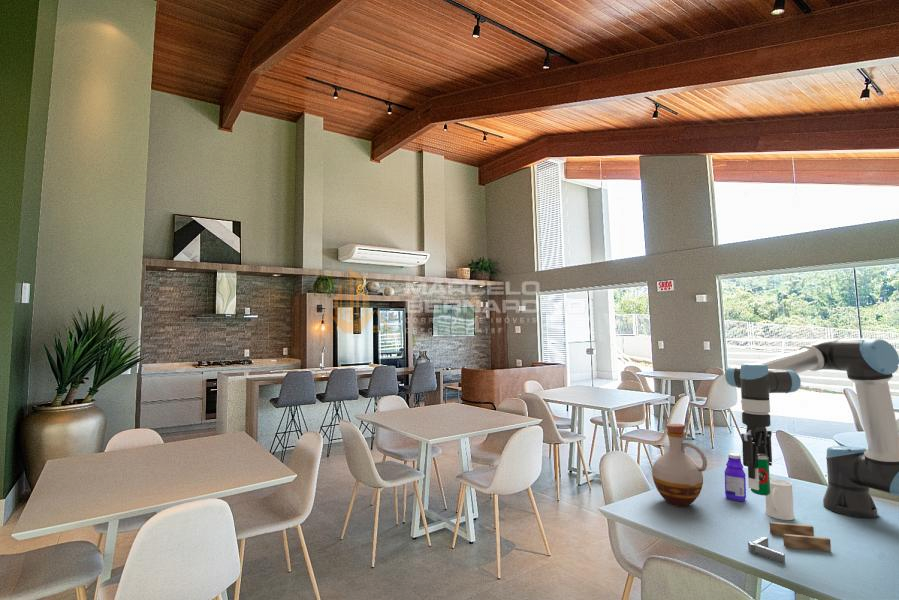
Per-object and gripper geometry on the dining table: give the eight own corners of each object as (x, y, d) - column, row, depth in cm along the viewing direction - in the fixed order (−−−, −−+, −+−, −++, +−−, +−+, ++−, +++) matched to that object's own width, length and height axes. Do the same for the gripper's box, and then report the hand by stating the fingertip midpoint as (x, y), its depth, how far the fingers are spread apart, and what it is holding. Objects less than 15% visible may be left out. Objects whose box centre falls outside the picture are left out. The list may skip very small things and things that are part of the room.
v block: (767, 545, 141) (766, 536, 141) (786, 564, 129) (786, 555, 129) (741, 542, 143) (741, 534, 143) (758, 561, 131) (758, 552, 131)
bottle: (746, 498, 181) (744, 453, 182) (746, 503, 176) (744, 457, 177) (725, 495, 185) (723, 451, 186) (724, 499, 180) (723, 454, 181)
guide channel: (811, 536, 147) (811, 525, 147) (831, 551, 137) (830, 539, 137) (770, 532, 150) (769, 521, 150) (785, 547, 140) (785, 535, 140)
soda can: (774, 495, 141) (772, 455, 142) (761, 496, 140) (759, 456, 141) (759, 489, 146) (758, 451, 147) (746, 491, 145) (745, 452, 145)
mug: (785, 524, 156) (784, 488, 157) (757, 516, 163) (756, 482, 164) (798, 516, 163) (796, 482, 164) (770, 509, 170) (769, 476, 171)
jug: (714, 504, 175) (712, 424, 177) (702, 517, 162) (699, 432, 164) (661, 492, 188) (659, 418, 190) (645, 503, 175) (643, 424, 177)
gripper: (758, 408, 153) (761, 479, 151) (727, 412, 144) (730, 488, 142) (783, 412, 146) (786, 486, 144) (752, 416, 137) (756, 495, 136)
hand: (758, 487), depth 143 cm, fingers closed on soda can, 5 cm apart
